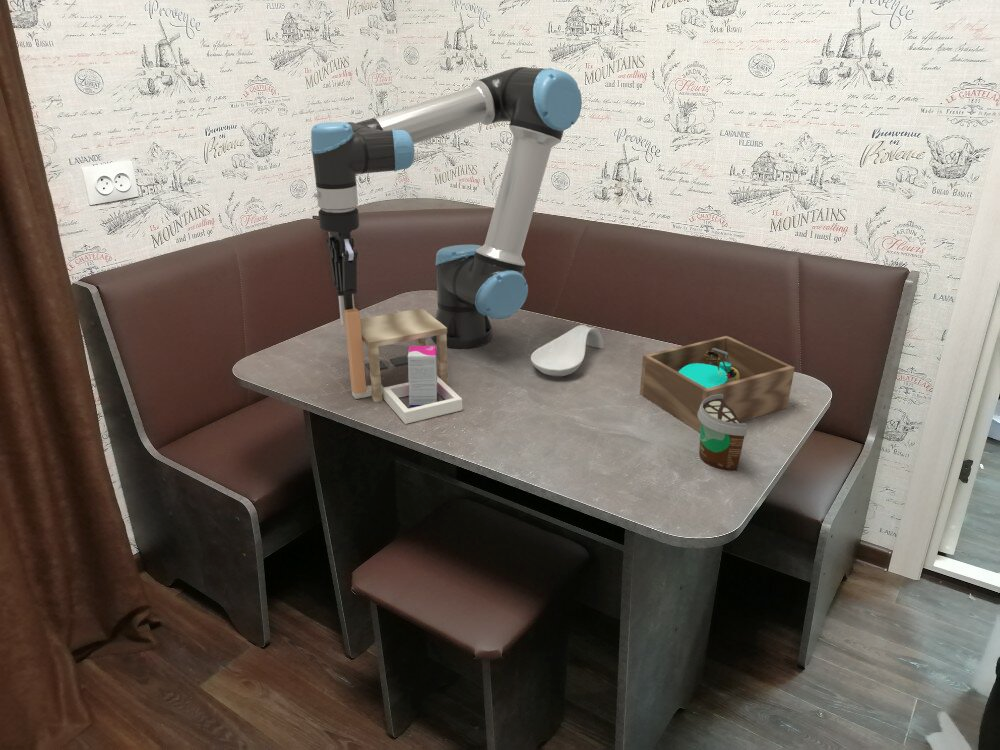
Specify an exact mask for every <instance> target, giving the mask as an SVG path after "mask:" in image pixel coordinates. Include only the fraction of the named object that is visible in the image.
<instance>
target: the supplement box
mask: <svg viewBox="0 0 1000 750" xmlns="http://www.w3.org/2000/svg"><path fill="white" fill-rule="evenodd" d="M407 352H408V353H407V357H408V364H407V367H408V371H407V373H408V382H409V396H408V401H409V402H408V403H409V404H408V406H409V408H414V407H418V406H422V405H427V404H431V403H435V402H438V392H437V376H438V364H437V345H425V346H416V345H409V346H408V351H407Z"/></svg>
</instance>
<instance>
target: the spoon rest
mask: <svg viewBox="0 0 1000 750" xmlns="http://www.w3.org/2000/svg"><path fill="white" fill-rule="evenodd" d="M587 346H589V347H592V348H596V349H603V348H604V339H603V336H602V333H601V332H600V330H599V329H598V328H597V327H589V326H587V325H585V324H580V325H577V326H575V327H573V328H572V329H570V330H568V331H567V332H565V333H564V334H562V335H560V336H558V337H555V338H554V339H553V340H551V341H549V342H547V343H545V344H544V345H542V346H540V347H538V348H536V350H534V351H533V352H532V353H531V355H530V360H531V363H532V365H533V366H534V367H535V368H536V369H537V371H540V372H541V373H542V374H544V375H547V376H552V377H565V376H568V375H571V374H572V373H574V372H576V371H577V370H578V369H579V367H581V365H582V364H583V361H584V358H585V357H586V356H585V355H586V347H587Z"/></svg>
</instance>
